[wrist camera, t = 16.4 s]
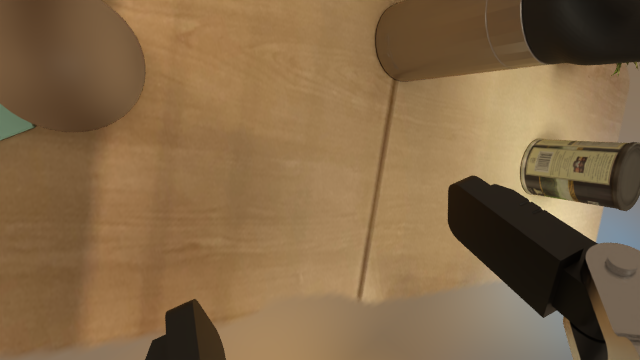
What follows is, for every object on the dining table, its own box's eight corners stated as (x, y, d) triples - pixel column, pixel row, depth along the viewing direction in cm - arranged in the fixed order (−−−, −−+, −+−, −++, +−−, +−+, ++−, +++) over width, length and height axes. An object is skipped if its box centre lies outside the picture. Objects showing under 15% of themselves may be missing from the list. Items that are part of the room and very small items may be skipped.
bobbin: (97, 21, 28) (100, -33, 18) (144, 106, 31) (169, 100, 21) (-6, 51, 25) (-71, 7, 15) (55, 142, 28) (34, 155, 18)
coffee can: (549, 188, 69) (643, 202, 57) (518, 199, 64) (615, 218, 52) (552, 134, 67) (650, 138, 55) (520, 142, 62) (622, 147, 50)
